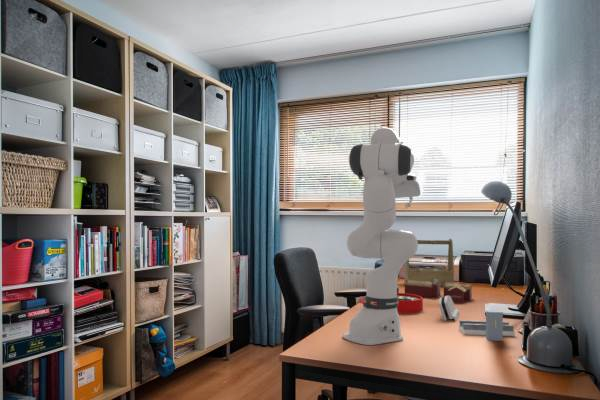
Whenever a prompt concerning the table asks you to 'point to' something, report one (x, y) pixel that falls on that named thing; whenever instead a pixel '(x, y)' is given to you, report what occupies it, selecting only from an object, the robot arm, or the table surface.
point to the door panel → (494, 325)
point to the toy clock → (409, 303)
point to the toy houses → (438, 290)
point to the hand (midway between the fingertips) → (398, 207)
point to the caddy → (430, 274)
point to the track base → (483, 328)
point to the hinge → (448, 308)
